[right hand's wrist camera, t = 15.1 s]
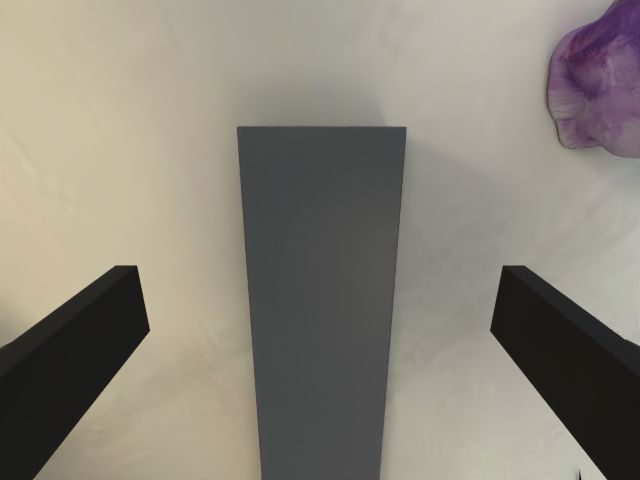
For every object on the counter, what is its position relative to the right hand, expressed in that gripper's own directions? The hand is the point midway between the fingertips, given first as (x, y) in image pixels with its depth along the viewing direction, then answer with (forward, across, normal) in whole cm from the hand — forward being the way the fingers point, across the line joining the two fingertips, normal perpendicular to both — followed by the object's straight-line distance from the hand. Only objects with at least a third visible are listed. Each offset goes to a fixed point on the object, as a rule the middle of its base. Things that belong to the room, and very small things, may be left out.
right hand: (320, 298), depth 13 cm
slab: (+16, 0, -25) cm, 30 cm away
